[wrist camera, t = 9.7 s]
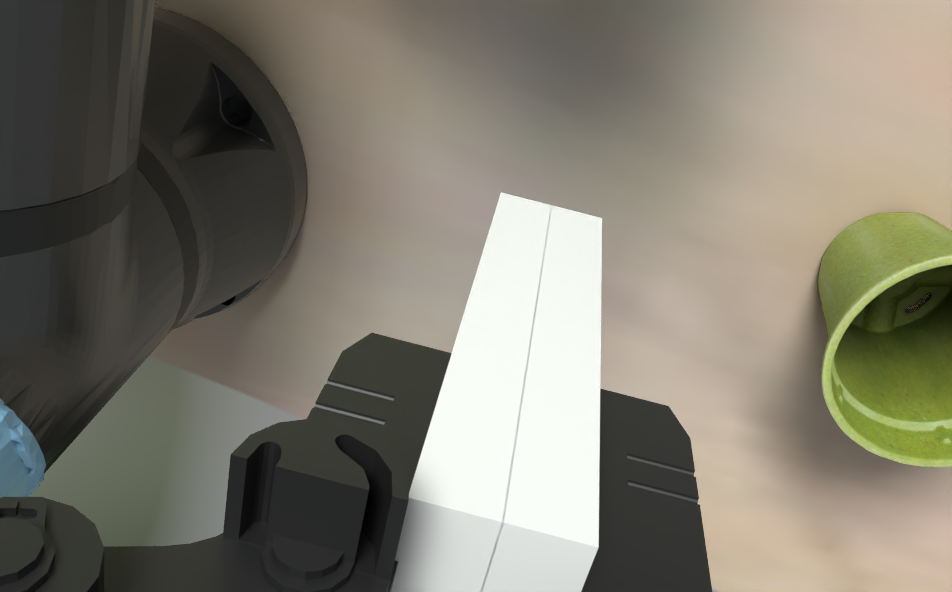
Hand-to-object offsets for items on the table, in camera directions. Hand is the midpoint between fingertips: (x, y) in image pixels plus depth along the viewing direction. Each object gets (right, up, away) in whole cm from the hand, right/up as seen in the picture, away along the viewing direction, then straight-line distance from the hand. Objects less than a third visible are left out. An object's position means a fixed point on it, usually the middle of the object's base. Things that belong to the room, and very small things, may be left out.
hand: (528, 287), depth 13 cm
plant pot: (+18, +1, +27) cm, 33 cm away
